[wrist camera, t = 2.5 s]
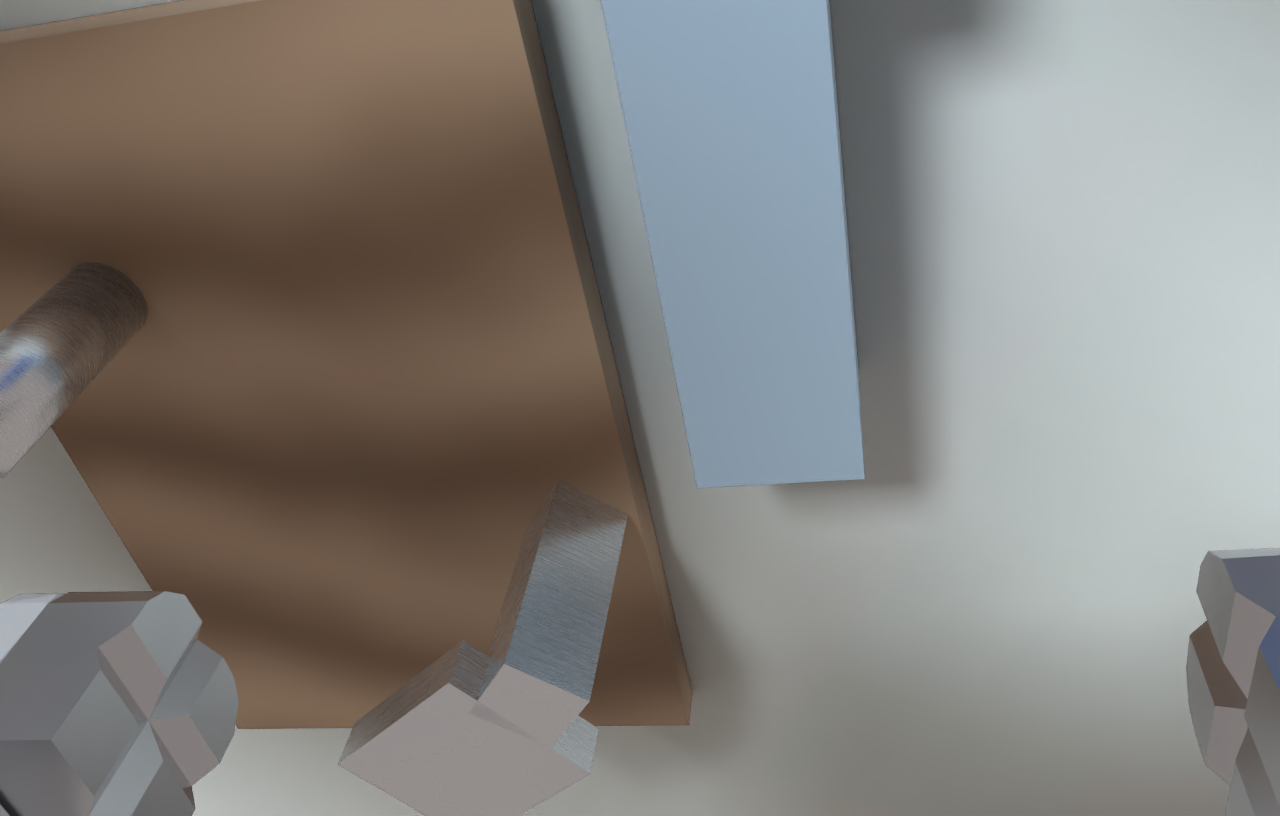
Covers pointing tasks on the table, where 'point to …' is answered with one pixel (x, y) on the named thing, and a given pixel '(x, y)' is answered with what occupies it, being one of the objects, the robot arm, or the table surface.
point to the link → (746, 229)
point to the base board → (332, 332)
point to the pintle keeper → (456, 682)
